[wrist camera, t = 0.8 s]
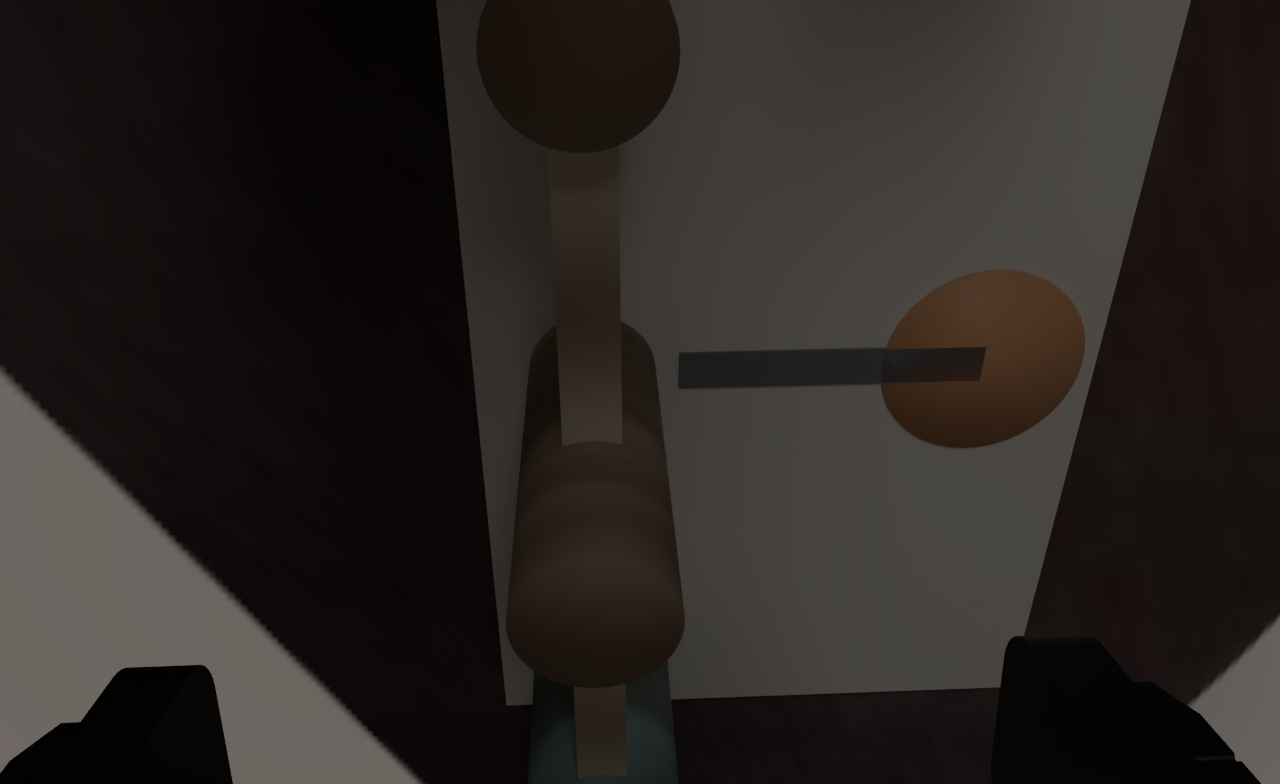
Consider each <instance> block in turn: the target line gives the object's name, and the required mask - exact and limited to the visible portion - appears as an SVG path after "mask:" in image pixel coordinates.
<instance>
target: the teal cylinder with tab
mask: <svg viewBox="0 0 1280 784" xmlns="http://www.w3.org/2000/svg"><path fill="white" fill-rule="evenodd" d="M528 784H679V780H678V769H677V759H676V748H675V737H674V726H673V715H672V704H671V694H670V683H669V672H668V661H666V662H665V663H664V664H662V665H661V666H660V667H659V668H657V669H656V670H654V671H653V672H651V673H650V674H648V675H646V676H644V677H642V678H640V679H637V680H635V681H632V682H629V683H626V684H622V685H618V686H612V687H603V688H584V687H575V686H570V685H565V684H561V683H558V682H555V681H552V680H550V679H548V678H545V677H543V676H542V675H540V674H538V673H536V672H535V671H534V681H533V699H532V717H531V735H530V753H529V771H528Z"/></svg>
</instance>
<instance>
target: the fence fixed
mask: <svg viewBox="0 0 1280 784" xmlns="http://www.w3.org/2000/svg"><path fill="white" fill-rule="evenodd" d="M476 48H477V61H478V68H479V72H480V75H481V79H482V82H483V85H484V87H485V90H486V92H487V94H488V96H489V98H490V100H491V101H492V103H493V105H494V106H495V108H496V109H497V110H498V112H499V113H500V114H501V116H502V117H503V118H504V119H505V120H506V121H507V122H508V123H509V124H510V125H511V126H512V127H513V128H514V129H516V130H517V131H518V132H519V133H521V134H522V135H524V136H525V137H527V138H529V139H530V140H532V141H534V142H536V143H538V144H540V145H542V146H545V147H547V148H548V168H549V188H550V208H551V228H552V248H553V268H554V289H555V309H556V326H554V327H553V328H551V329H550V330H549V331H548V332H546V333H545V334H544V335H543V337H542V338H541V339H540V340H539V342H538V343H537V344H536V346H535V348H534V350H533V352H532V356H531V359H530V364H529V374H528V385H527V396H526V407H525V418H524V428H523V439H522V450H521V461H520V472H519V483H518V494H517V505H516V515H515V526H514V537H513V548H512V559H511V570H510V581H509V591H508V602H507V613H506V631H507V636H508V639H509V642H510V644H511V646H512V648H513V650H514V652H515V653H516V654H517V656H518V657H519V658H520V659H521V660H522V661H523V662H524V663H525V664H526V665H527V666H528V667H529V668H531V669H532V670H533V671H535V672H536V673H538V674H540V675H542V676H543V677H545V678H548V679H550V680H552V681H555V682H558V683H561V684H565V685H570V686H575V687H584V688H603V687H612V686H618V685H622V684H626V683H629V682H632V681H635V680H637V679H640V678H642V677H644V676H646V675H648V674H650V673H651V672H653V671H654V670H656V669H657V668H659V667H660V666H661V665H662V664H664V663H665V662H666V661H667V660H668V659H669V658H670V657H671V655H672V654H673V653H674V651H675V650H676V649H677V647H678V645H679V643H680V641H681V639H682V636H683V632H684V626H685V614H684V605H683V597H682V588H681V579H680V571H679V562H678V554H677V545H676V537H675V528H674V520H673V511H672V503H671V494H670V486H669V477H668V469H667V460H666V452H665V443H664V435H663V426H662V418H661V409H660V401H659V392H658V384H657V375H656V367H655V360H654V356H653V353H652V351H651V349H650V347H649V345H648V343H647V342H646V340H645V339H644V338H643V337H642V336H641V335H640V334H639V333H638V332H637V331H636V330H635V329H633V328H632V327H631V326H629V325H627V324H626V323H624V322H621V307H620V230H619V154H618V145H621V144H623V143H624V142H626V141H628V140H630V139H632V138H633V137H635V136H636V135H638V134H639V133H641V132H642V131H643V130H644V129H645V128H646V127H648V126H649V125H650V124H651V123H652V122H653V121H654V119H655V118H656V117H657V116H658V115H659V114H660V112H661V111H662V109H663V108H664V106H665V105H666V103H667V101H668V99H669V97H670V95H671V93H672V91H673V88H674V85H675V82H676V79H677V75H678V70H679V64H680V37H679V32H678V26H677V22H676V19H675V16H674V13H673V10H672V7H671V4H670V2H669V0H487V1H486V3H485V6H484V9H483V11H482V14H481V17H480V21H479V25H478V32H477V40H476Z"/></svg>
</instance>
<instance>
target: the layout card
mask: <svg viewBox="0 0 1280 784" xmlns="http://www.w3.org/2000/svg"><path fill="white" fill-rule="evenodd" d="M486 1H487V0H436V4H437V14H438V24H439V34H440V44H441V54H442V64H443V74H444V84H445V94H446V104H447V114H448V124H449V134H450V144H451V154H452V164H453V174H454V184H455V194H456V204H457V214H458V224H459V234H460V244H461V254H462V264H463V274H464V284H465V294H466V304H467V315H468V325H469V335H470V345H471V355H472V365H473V375H474V385H475V395H476V405H477V415H478V425H479V435H480V445H481V455H482V465H483V475H484V485H485V495H486V505H487V515H488V525H489V535H490V545H491V555H492V565H493V575H494V585H495V595H496V605H497V615H498V625H499V635H500V645H501V655H502V665H503V675H504V685H505V695H506V705H531V704H532V699H533V681H534V671H533V670H532V669H531V668H529V667H528V666H527V665H526V664H525V663H524V662H523V661H522V660H521V659H520V658H519V657H518V656H517V654H516V653H515V652H514V650H513V648H512V646H511V644H510V642H509V639H508V636H507V631H506V613H507V602H508V591H509V581H510V570H511V559H512V548H513V537H514V526H515V515H516V505H517V494H518V483H519V472H520V461H521V450H522V439H523V428H524V418H525V407H526V396H527V385H528V374H529V364H530V359H531V356H532V352H533V350H534V348H535V346H536V344H537V343H538V342H539V340H540V339H541V338H542V337H543V335H544V334H545V333H546V332H548V331H549V330H550V329H551V328H553V327H554V326H556V309H555V289H554V268H553V248H552V228H551V208H550V188H549V168H548V148H547V147H545V146H542V145H540V144H538V143H536V142H534V141H532V140H530V139H529V138H527V137H525V136H524V135H522V134H521V133H519V132H518V131H517V130H516V129H514V128H513V127H512V126H511V125H510V124H509V123H508V122H507V121H506V120H505V119H504V118H503V117H502V116H501V114H500V113H499V112H498V110H497V109H496V108H495V106H494V105H493V103H492V101H491V100H490V98H489V96H488V94H487V92H486V90H485V87H484V85H483V82H482V79H481V75H480V72H479V68H478V61H477V48H476V40H477V32H478V25H479V21H480V17H481V14H482V11H483V9H484V6H485V3H486ZM1190 1H1191V0H669V2H670V4H671V7H672V10H673V13H674V16H675V19H676V22H677V26H678V32H679V37H680V64H679V70H678V75H677V79H676V82H675V85H674V88H673V91H672V93H671V95H670V97H669V99H668V101H667V103H666V105H665V106H664V108H663V109H662V111H661V112H660V114H659V115H658V116H657V117H656V118H655V119H654V121H653V122H652V123H651V124H650V125H649V126H648V127H646V128H645V129H644V130H643V131H642V132H641V133H639V134H638V135H636V136H635V137H633V138H632V139H630V140H628V141H626V142H624V143H623V144H621V145H618V154H619V230H620V307H621V322H624V323H626V324H627V325H629V326H631V327H632V328H633V329H635V330H636V331H637V332H638V333H639V334H640V335H641V336H642V337H643V338H644V339H645V340H646V342H647V343H648V345H649V347H650V349H651V351H652V353H653V356H654V360H655V367H656V375H657V384H658V392H659V401H660V409H661V418H662V426H663V435H664V443H665V452H666V460H667V469H668V477H669V486H670V494H671V503H672V511H673V520H674V528H675V537H676V545H677V554H678V562H679V571H680V579H681V588H682V597H683V605H684V614H685V626H684V632H683V636H682V639H681V641H680V643H679V645H678V647H677V649H676V650H675V651H674V653H673V654H672V655H671V657H670V658H669V659H668V660H667V661H668V672H669V683H670V694H671V699H693V698H721V697H748V696H775V695H802V694H829V693H856V692H883V691H910V690H937V689H964V688H991V687H1000V685H1001V677H1002V669H1003V661H1004V654H1005V650H1006V647H1007V644H1008V642H1009V641H1010V639H1011V638H1013V637H1014V636H1024V633H1025V629H1026V625H1027V621H1028V618H1029V614H1030V610H1031V606H1032V602H1033V599H1034V595H1035V591H1036V587H1037V583H1038V580H1039V576H1040V572H1041V568H1042V564H1043V561H1044V557H1045V553H1046V549H1047V545H1048V542H1049V538H1050V534H1051V530H1052V526H1053V522H1054V519H1055V515H1056V511H1057V507H1058V503H1059V500H1060V496H1061V492H1062V488H1063V484H1064V481H1065V477H1066V473H1067V469H1068V465H1069V462H1070V458H1071V454H1072V450H1073V446H1074V443H1075V439H1076V435H1077V431H1078V427H1079V424H1080V420H1081V416H1082V412H1083V408H1084V405H1085V401H1086V397H1087V393H1088V389H1089V386H1090V382H1091V378H1092V374H1093V370H1094V367H1095V363H1096V359H1097V355H1098V351H1099V348H1100V344H1101V340H1102V336H1103V332H1104V328H1105V325H1106V321H1107V317H1108V313H1109V309H1110V306H1111V302H1112V298H1113V294H1114V290H1115V287H1116V283H1117V279H1118V275H1119V271H1120V268H1121V264H1122V260H1123V256H1124V252H1125V249H1126V245H1127V241H1128V237H1129V233H1130V230H1131V226H1132V222H1133V218H1134V214H1135V211H1136V207H1137V203H1138V199H1139V195H1140V192H1141V188H1142V184H1143V180H1144V176H1145V173H1146V169H1147V165H1148V161H1149V157H1150V153H1151V150H1152V146H1153V142H1154V138H1155V134H1156V131H1157V127H1158V123H1159V119H1160V115H1161V112H1162V108H1163V104H1164V100H1165V96H1166V93H1167V89H1168V85H1169V81H1170V77H1171V74H1172V70H1173V66H1174V62H1175V58H1176V55H1177V51H1178V47H1179V43H1180V39H1181V36H1182V32H1183V28H1184V24H1185V20H1186V17H1187V13H1188V9H1189V5H1190Z"/></svg>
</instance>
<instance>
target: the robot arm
mask: <svg viewBox="0 0 1280 784" xmlns="http://www.w3.org/2000/svg"><path fill="white" fill-rule="evenodd" d="M991 777H992V784H1261V783H1260V782H1259V781H1258V780H1257V779H1256V777H1255V776H1254V775H1253V774H1252V773H1251V772H1250V771H1249V770H1248V768H1247V767H1246V766H1245V765H1244V764H1243V763H1242V762H1241V761H1238V762H1236V760H1235V756H1234V752H1233V751H1232V750H1231V749H1230V748H1229V747H1228V745H1227V744H1226V743H1225V742H1224V741H1223V740H1222V739H1221V737H1220V736H1219V735H1218V734H1217V733H1216V732H1215V731H1214V729H1213V728H1212V727H1211V726H1210V725H1209V724H1208V723H1207V722H1206V720H1205V719H1204V718H1203V717H1202V716H1201V715H1200V714H1199V713H1197V712H1196V711H1194V710H1193V709H1191V708H1190V707H1188V706H1187V705H1185V704H1184V703H1182V702H1181V701H1179V700H1178V699H1176V698H1175V697H1173V696H1171V695H1170V694H1168V693H1167V692H1165V691H1164V690H1162V689H1161V688H1159V687H1158V686H1156V685H1155V684H1153V683H1151V682H1136V683H1133V682H1132V681H1131V679H1130V678H1129V677H1128V676H1127V675H1126V673H1125V672H1124V671H1123V670H1122V668H1121V667H1120V666H1119V665H1118V664H1117V662H1116V661H1115V660H1114V659H1113V657H1112V656H1111V655H1110V654H1109V653H1108V651H1107V650H1106V649H1105V648H1104V646H1103V645H1102V644H1101V643H1100V642H1099V641H1098V639H1097V638H1096V637H1094V636H1093V635H1091V634H1088V633H1081V634H1055V635H1029V636H1014V637H1013V638H1011V639H1010V641H1009V642H1008V644H1007V647H1006V650H1005V654H1004V661H1003V669H1002V677H1001V685H1000V693H999V702H998V710H997V718H996V726H995V734H994V742H993V751H992V760H991ZM0 784H233V782H232V777H231V771H230V765H229V760H228V756H227V749H226V744H225V738H224V733H223V728H222V723H221V717H220V712H219V706H218V701H217V695H216V690H215V685H214V681H213V678H212V675H211V673H210V671H209V670H208V669H207V668H206V667H205V666H203V665H189V666H163V667H137V668H124V669H122V670H120V671H119V672H118V673H117V674H116V675H115V676H114V677H113V678H112V680H111V681H110V683H109V684H108V685H107V687H106V688H105V689H104V691H103V692H102V694H101V695H100V696H99V698H98V699H97V700H96V702H95V703H94V705H93V706H92V707H91V708H90V710H89V711H88V713H87V714H86V715H85V717H84V718H83V719H82V721H81V722H77V723H61V724H59V725H58V726H57V727H55V728H54V729H53V730H51V731H50V732H48V733H47V734H46V735H44V736H43V737H42V738H40V739H39V740H38V741H36V742H35V743H34V744H32V745H31V746H30V747H28V748H27V749H25V750H24V751H23V752H21V753H20V754H19V755H17V756H16V757H15V758H13V759H12V760H10V762H9V763H8V764H7V765H6V767H5V768H4V769H3V770H2V772H1V773H0Z"/></svg>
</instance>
